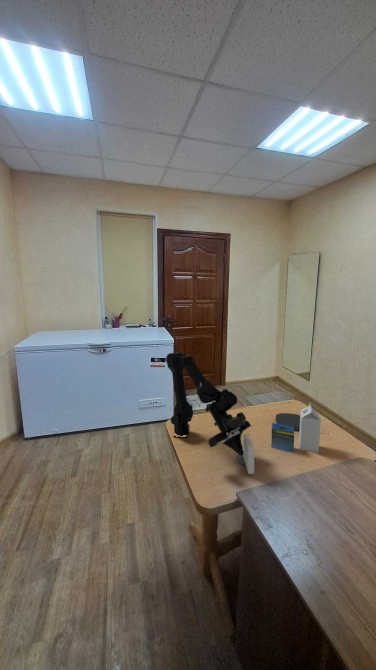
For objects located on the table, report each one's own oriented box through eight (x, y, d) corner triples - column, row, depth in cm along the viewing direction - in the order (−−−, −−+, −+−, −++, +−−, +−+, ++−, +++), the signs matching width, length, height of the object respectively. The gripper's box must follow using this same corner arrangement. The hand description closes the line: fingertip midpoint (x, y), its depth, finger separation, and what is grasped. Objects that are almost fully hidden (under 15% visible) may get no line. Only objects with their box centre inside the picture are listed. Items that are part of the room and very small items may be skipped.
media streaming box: (303, 419, 141) (304, 414, 141) (309, 433, 127) (309, 427, 127) (274, 416, 144) (275, 411, 144) (277, 430, 130) (277, 424, 130)
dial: (235, 454, 108) (235, 429, 107) (252, 454, 108) (253, 429, 106) (241, 477, 95) (241, 449, 93) (261, 477, 95) (261, 449, 93)
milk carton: (316, 445, 116) (318, 404, 113) (318, 454, 109) (321, 410, 107) (298, 442, 118) (300, 402, 115) (299, 451, 112) (302, 408, 109)
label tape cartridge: (294, 450, 113) (295, 422, 111) (293, 455, 109) (294, 427, 108) (272, 445, 117) (273, 419, 115) (270, 450, 113) (271, 422, 111)
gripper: (214, 414, 93) (238, 458, 87) (247, 400, 105) (271, 438, 98) (199, 427, 100) (220, 468, 94) (232, 413, 112) (253, 448, 105)
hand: (242, 455), depth 98 cm, fingers closed
